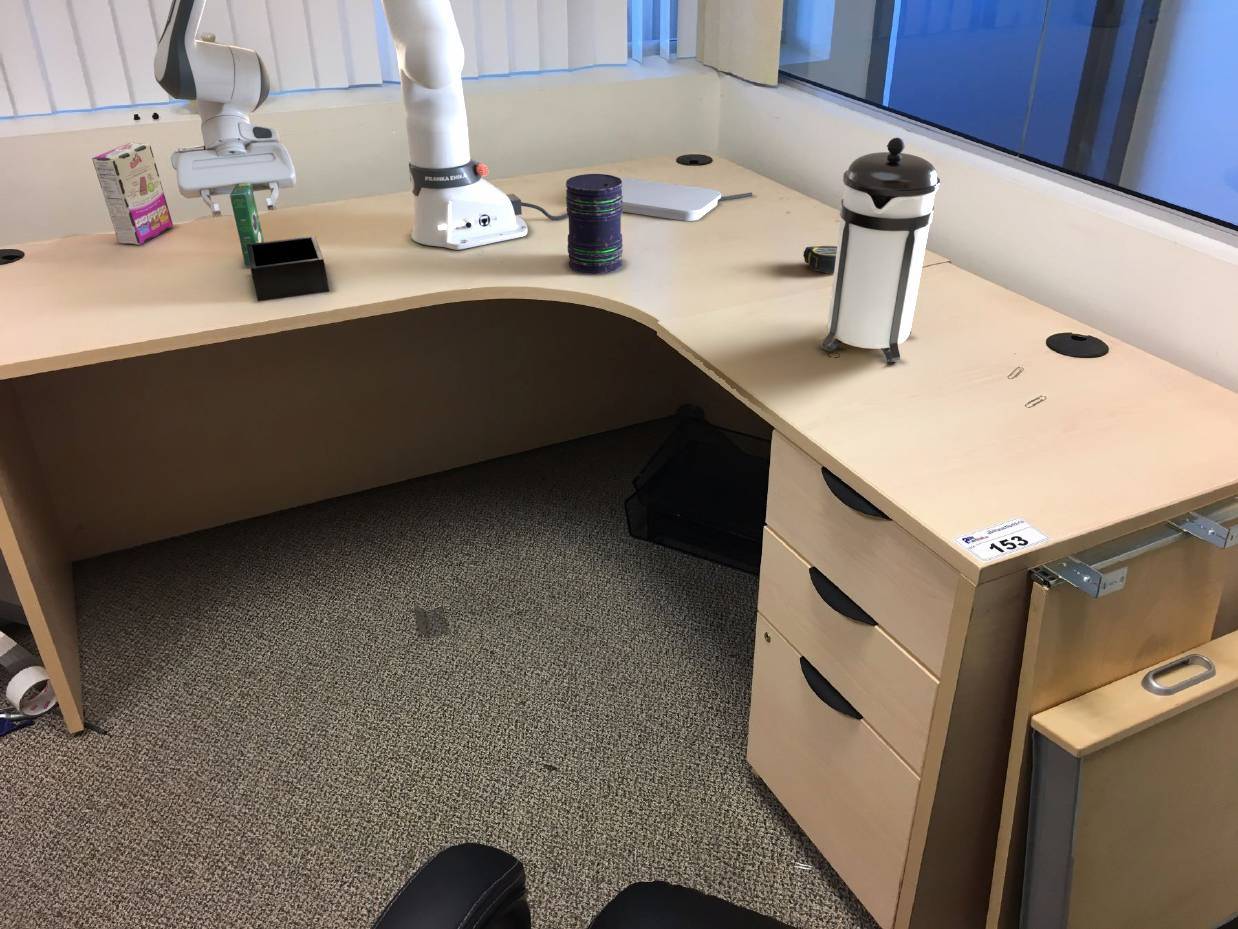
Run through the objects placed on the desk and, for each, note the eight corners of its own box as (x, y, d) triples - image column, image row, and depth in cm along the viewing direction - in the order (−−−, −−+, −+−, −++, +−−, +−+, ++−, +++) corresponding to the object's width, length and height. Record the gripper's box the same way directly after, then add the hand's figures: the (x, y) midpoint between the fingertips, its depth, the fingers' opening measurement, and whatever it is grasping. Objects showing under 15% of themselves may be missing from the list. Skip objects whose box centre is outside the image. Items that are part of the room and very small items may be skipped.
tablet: (696, 223, 189) (697, 212, 187) (582, 206, 198) (581, 195, 197) (724, 201, 201) (725, 190, 200) (615, 186, 211) (615, 176, 209)
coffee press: (943, 356, 137) (986, 146, 121) (845, 371, 134) (875, 155, 117) (883, 311, 151) (913, 117, 135) (792, 323, 148) (813, 125, 131)
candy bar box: (152, 225, 189) (128, 141, 180) (174, 227, 188) (152, 142, 179) (116, 244, 180) (90, 156, 171) (139, 245, 179) (114, 158, 170)
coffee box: (250, 252, 176) (235, 181, 168) (266, 251, 176) (252, 180, 169) (244, 267, 169) (228, 194, 162) (261, 266, 169) (245, 193, 162)
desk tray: (320, 266, 169) (315, 235, 166) (329, 291, 159) (323, 259, 156) (253, 275, 166) (246, 244, 163) (257, 301, 156) (250, 268, 153)
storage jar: (556, 265, 169) (553, 181, 161) (594, 251, 175) (593, 170, 167) (596, 279, 164) (594, 193, 156) (634, 264, 170) (634, 181, 162)
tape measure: (839, 262, 170) (841, 242, 168) (850, 276, 164) (852, 255, 162) (802, 263, 170) (804, 243, 168) (811, 277, 164) (814, 256, 162)
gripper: (165, 139, 166) (179, 210, 163) (285, 128, 172) (301, 196, 170) (172, 158, 172) (186, 227, 169) (288, 147, 178) (303, 213, 176)
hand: (244, 211), depth 170 cm, fingers open, 8 cm apart
